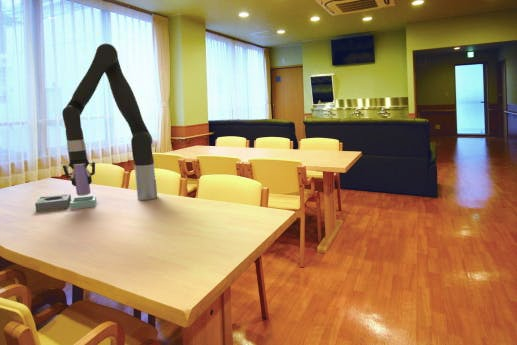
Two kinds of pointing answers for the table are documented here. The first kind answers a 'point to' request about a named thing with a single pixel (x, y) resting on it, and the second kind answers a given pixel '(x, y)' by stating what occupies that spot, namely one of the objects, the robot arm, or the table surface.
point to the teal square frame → (83, 202)
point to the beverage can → (81, 179)
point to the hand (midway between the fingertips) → (82, 184)
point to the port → (53, 202)
